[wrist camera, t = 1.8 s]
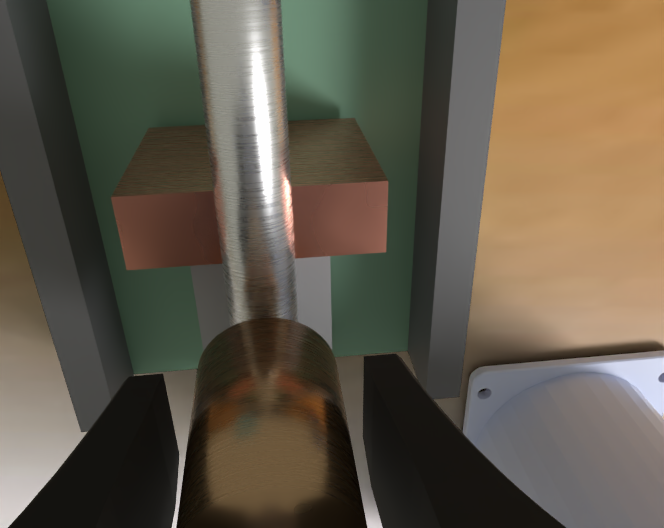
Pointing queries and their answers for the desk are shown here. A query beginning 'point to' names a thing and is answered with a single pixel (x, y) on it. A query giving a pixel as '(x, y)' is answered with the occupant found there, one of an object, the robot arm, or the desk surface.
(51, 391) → the desk surface
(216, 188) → the kicker
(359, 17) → the pitch
